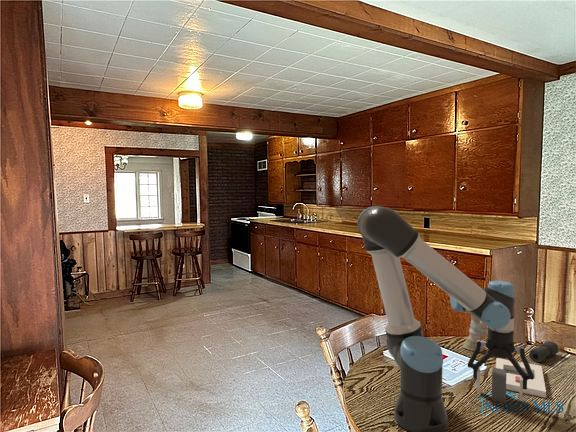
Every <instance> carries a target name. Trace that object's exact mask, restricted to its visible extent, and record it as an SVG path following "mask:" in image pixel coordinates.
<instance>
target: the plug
mask: <svg viewBox="0 0 576 432" xmlns="http://www.w3.org/2000/svg"><path fill="white" fill-rule="evenodd" d="M491 373H492V374H491V401H495V402H499V403H504V404H506V402H507V401H506V399H507V389H506V370H504V369H499V368H496V367H492V372H491Z"/></svg>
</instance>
